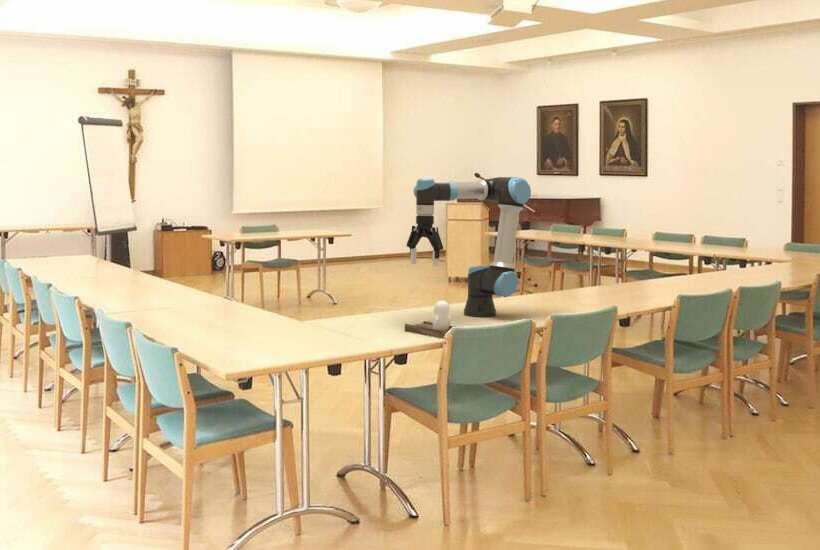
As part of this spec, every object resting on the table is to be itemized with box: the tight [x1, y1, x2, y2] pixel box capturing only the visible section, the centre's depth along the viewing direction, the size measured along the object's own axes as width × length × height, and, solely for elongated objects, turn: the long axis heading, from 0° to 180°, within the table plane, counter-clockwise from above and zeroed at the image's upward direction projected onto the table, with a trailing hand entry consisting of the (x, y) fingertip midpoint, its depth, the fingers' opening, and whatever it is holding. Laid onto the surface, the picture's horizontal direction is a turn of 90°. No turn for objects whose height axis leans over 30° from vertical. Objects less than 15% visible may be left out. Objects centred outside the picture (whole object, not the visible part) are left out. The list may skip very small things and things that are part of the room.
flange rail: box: [404, 320, 456, 339], centre depth 370 cm, size 12×22×4 cm, turn 43°
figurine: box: [432, 300, 452, 330], centre depth 365 cm, size 7×8×12 cm
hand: (424, 265), depth 381 cm, fingers open, 13 cm apart
